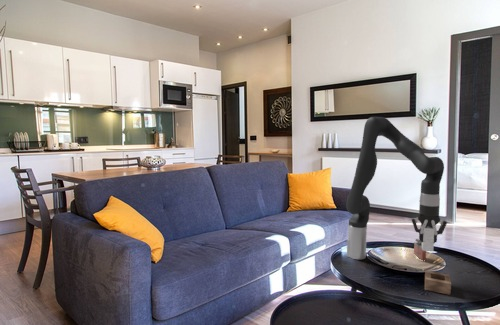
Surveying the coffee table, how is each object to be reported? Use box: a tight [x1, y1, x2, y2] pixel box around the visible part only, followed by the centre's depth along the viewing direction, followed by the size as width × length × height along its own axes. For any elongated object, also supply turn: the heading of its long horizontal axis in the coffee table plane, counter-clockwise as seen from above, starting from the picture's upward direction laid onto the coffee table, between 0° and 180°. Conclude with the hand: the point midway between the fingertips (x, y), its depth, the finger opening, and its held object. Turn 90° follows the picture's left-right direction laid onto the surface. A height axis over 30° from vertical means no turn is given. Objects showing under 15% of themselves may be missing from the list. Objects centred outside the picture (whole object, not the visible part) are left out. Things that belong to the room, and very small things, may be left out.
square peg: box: [422, 227, 435, 252], centre depth 141 cm, size 4×4×10 cm
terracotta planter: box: [413, 238, 427, 261], centre depth 171 cm, size 8×3×10 cm, turn 9°
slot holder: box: [424, 269, 452, 296], centre depth 142 cm, size 9×9×5 cm
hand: (427, 242), depth 141 cm, fingers closed on square peg, 4 cm apart
